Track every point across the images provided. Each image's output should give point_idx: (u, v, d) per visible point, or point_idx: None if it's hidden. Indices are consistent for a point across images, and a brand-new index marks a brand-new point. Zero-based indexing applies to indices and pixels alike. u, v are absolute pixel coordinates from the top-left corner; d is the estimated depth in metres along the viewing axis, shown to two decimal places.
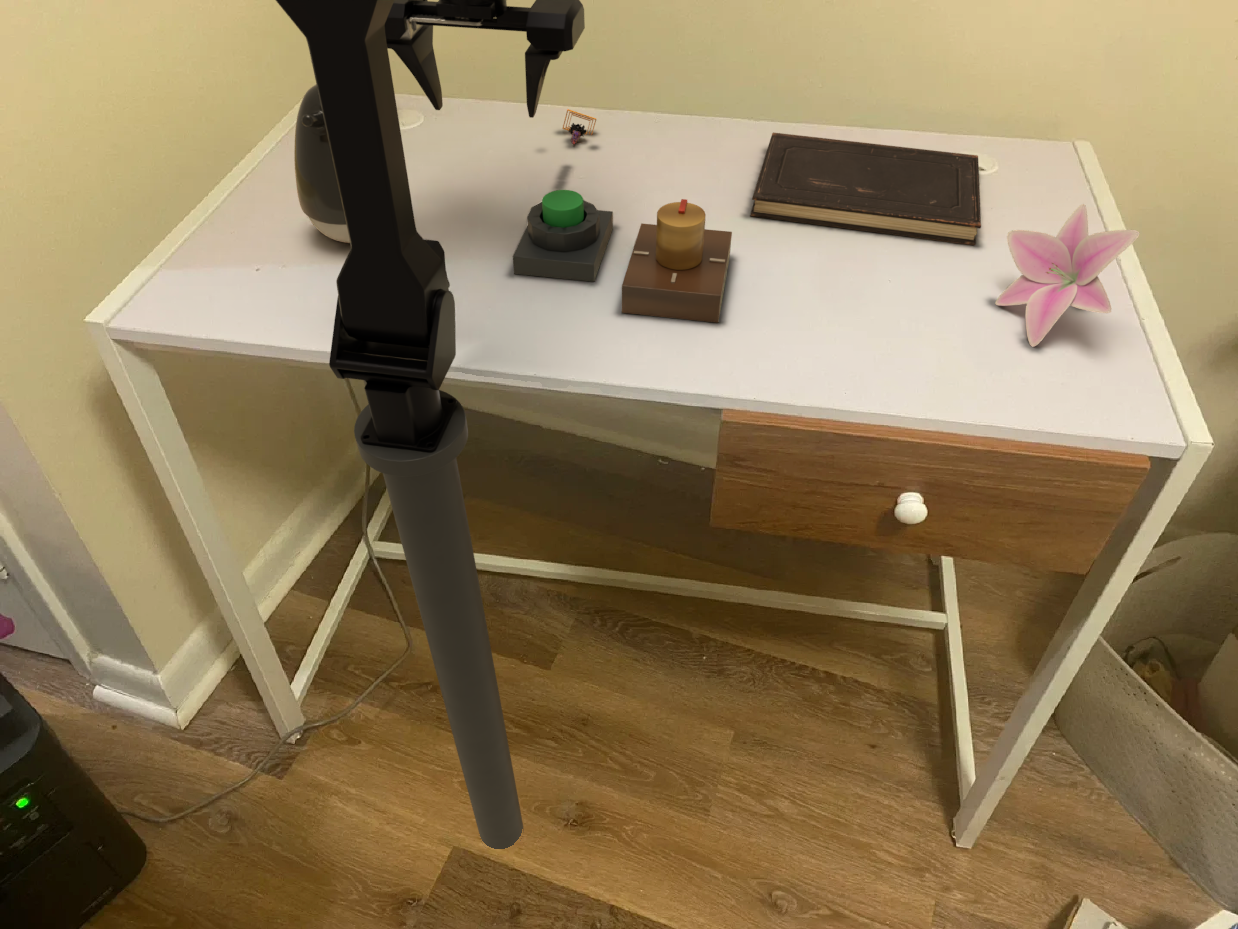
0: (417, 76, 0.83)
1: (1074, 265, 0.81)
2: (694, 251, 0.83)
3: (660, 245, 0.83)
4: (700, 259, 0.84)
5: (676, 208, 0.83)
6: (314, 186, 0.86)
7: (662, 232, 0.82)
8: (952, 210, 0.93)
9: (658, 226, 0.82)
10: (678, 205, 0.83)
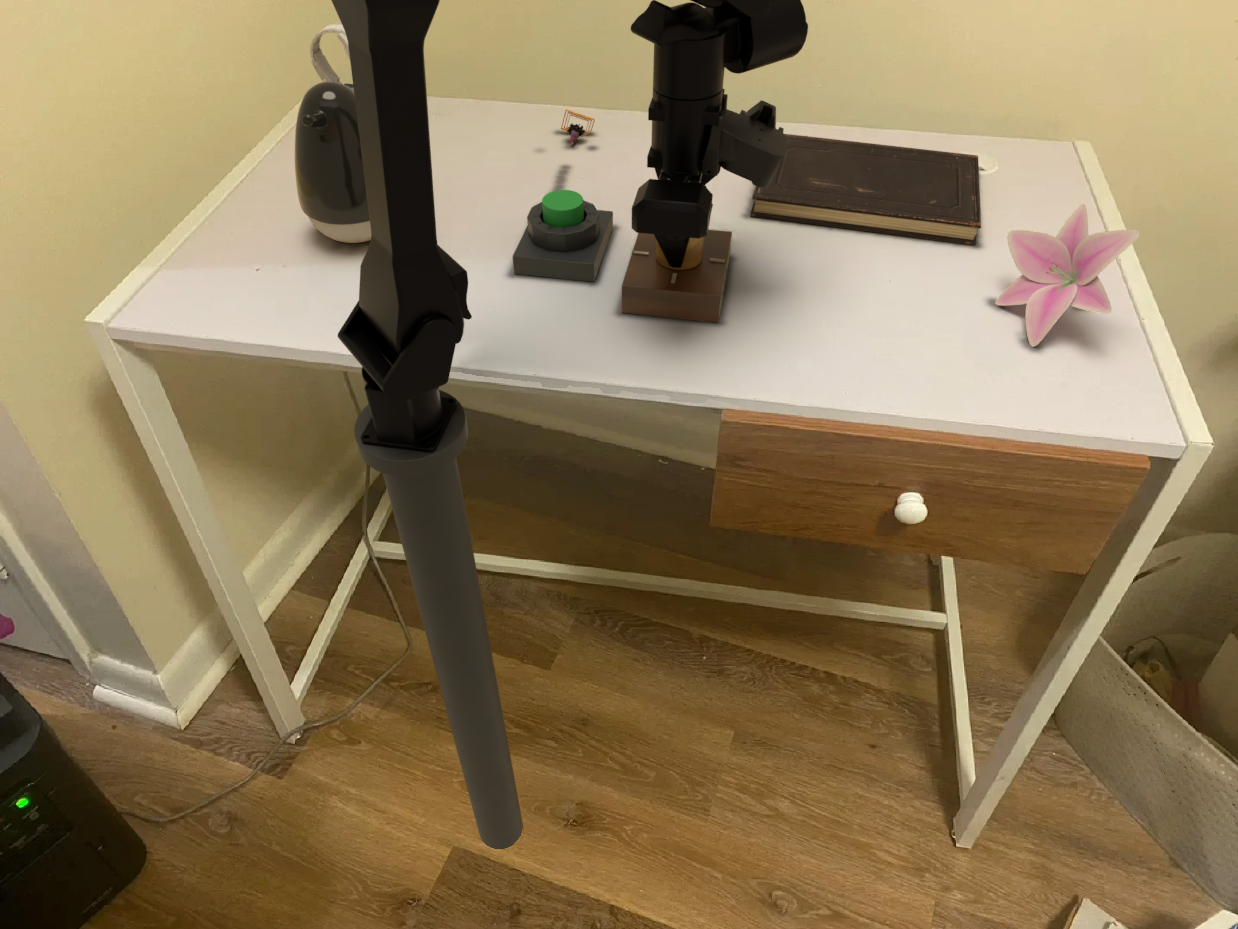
0: None
1: (1074, 265, 0.81)
2: (694, 251, 0.83)
3: None
4: (700, 259, 0.84)
5: None
6: (314, 186, 0.86)
7: None
8: (952, 210, 0.93)
9: None
10: None
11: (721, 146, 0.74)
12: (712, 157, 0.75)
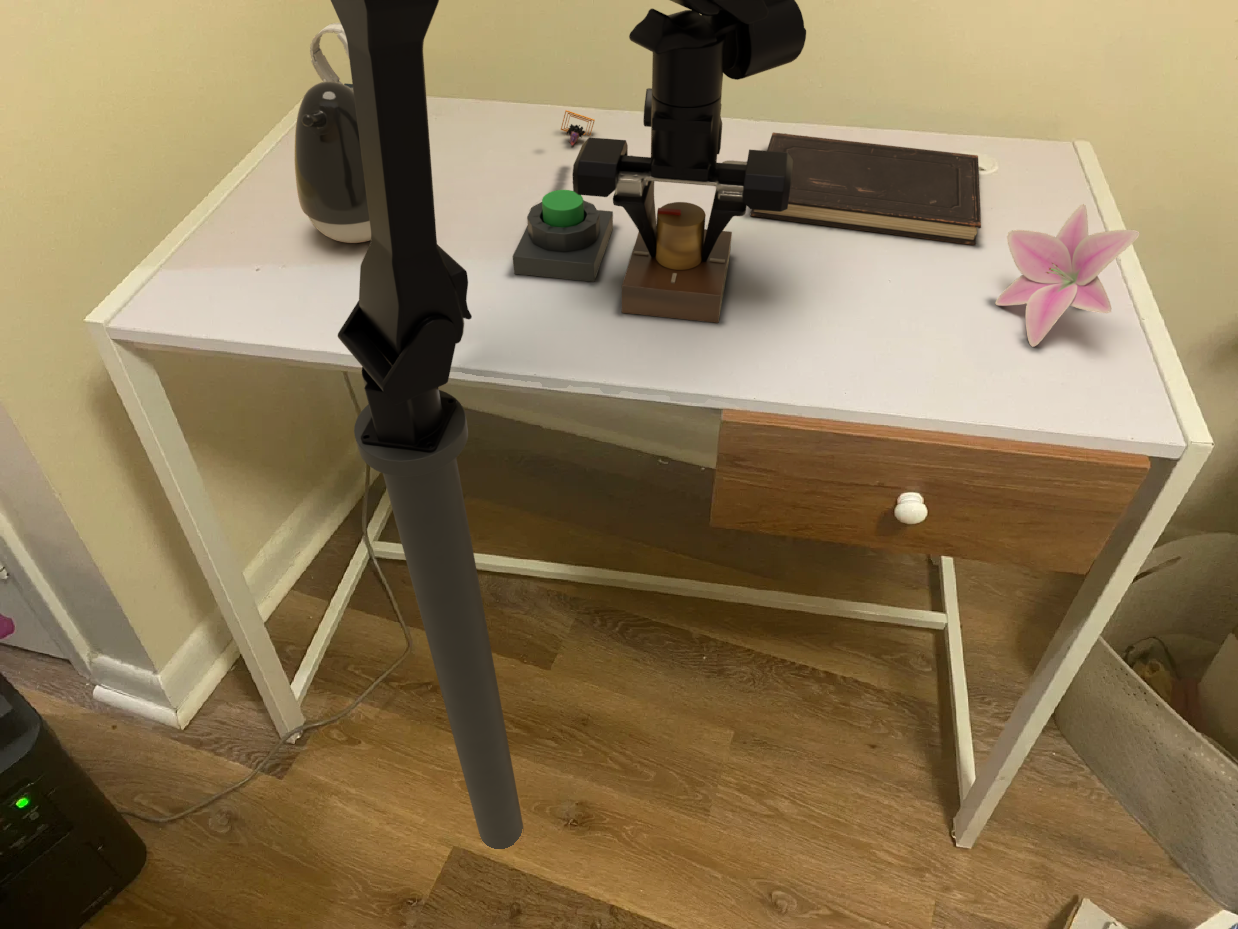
0: (641, 229, 0.82)
1: (1074, 265, 0.81)
2: None
3: (694, 248, 0.83)
4: None
5: (670, 216, 0.82)
6: (314, 186, 0.86)
7: (697, 233, 0.82)
8: (952, 210, 0.93)
9: (690, 234, 0.81)
10: (664, 215, 0.82)
11: None
12: (721, 133, 0.79)
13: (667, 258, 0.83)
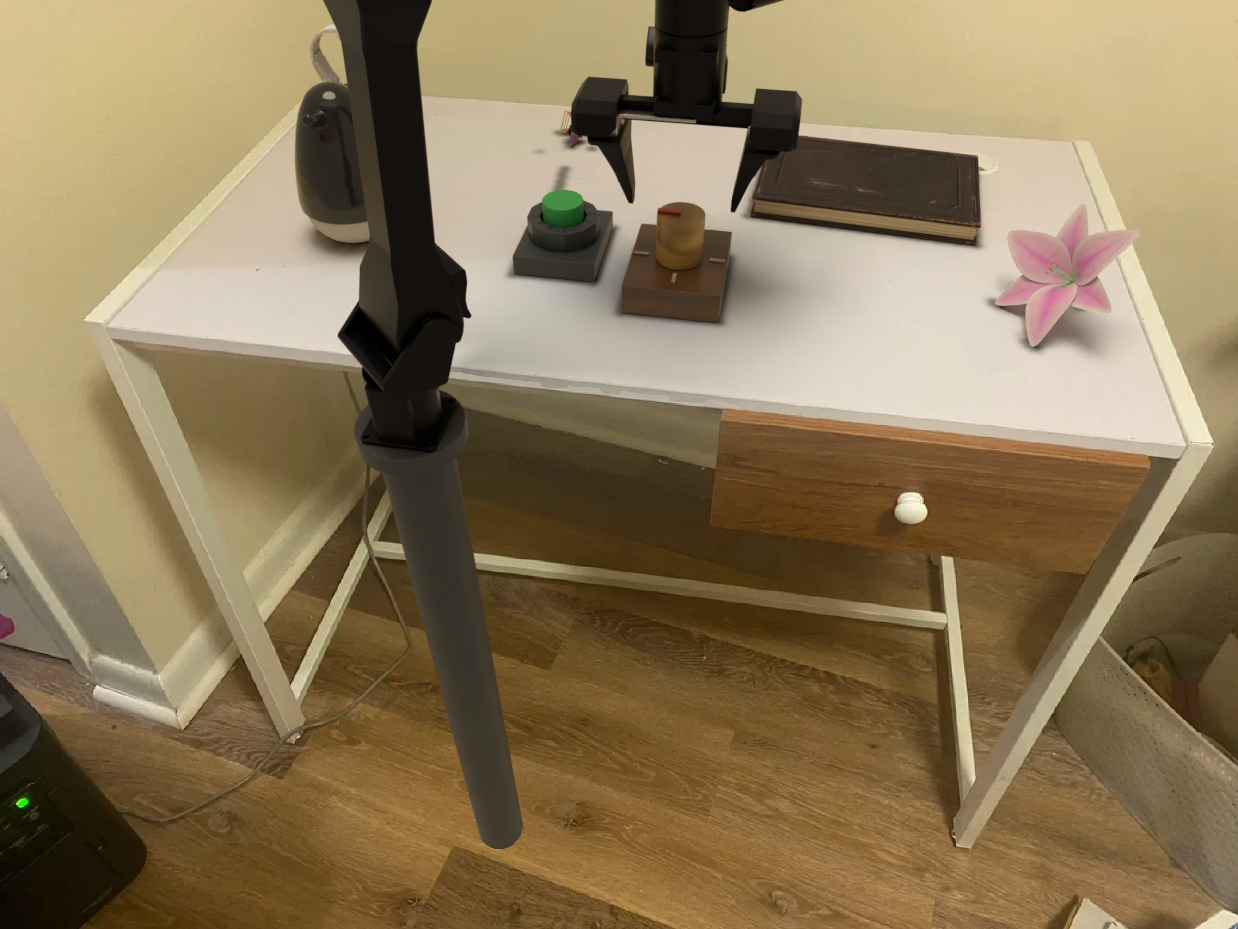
0: (617, 172, 0.78)
1: (1074, 265, 0.81)
2: None
3: (694, 248, 0.83)
4: None
5: (670, 216, 0.82)
6: (314, 186, 0.86)
7: (697, 233, 0.82)
8: (952, 210, 0.93)
9: (690, 234, 0.81)
10: (664, 215, 0.82)
11: None
12: None
13: (667, 258, 0.83)
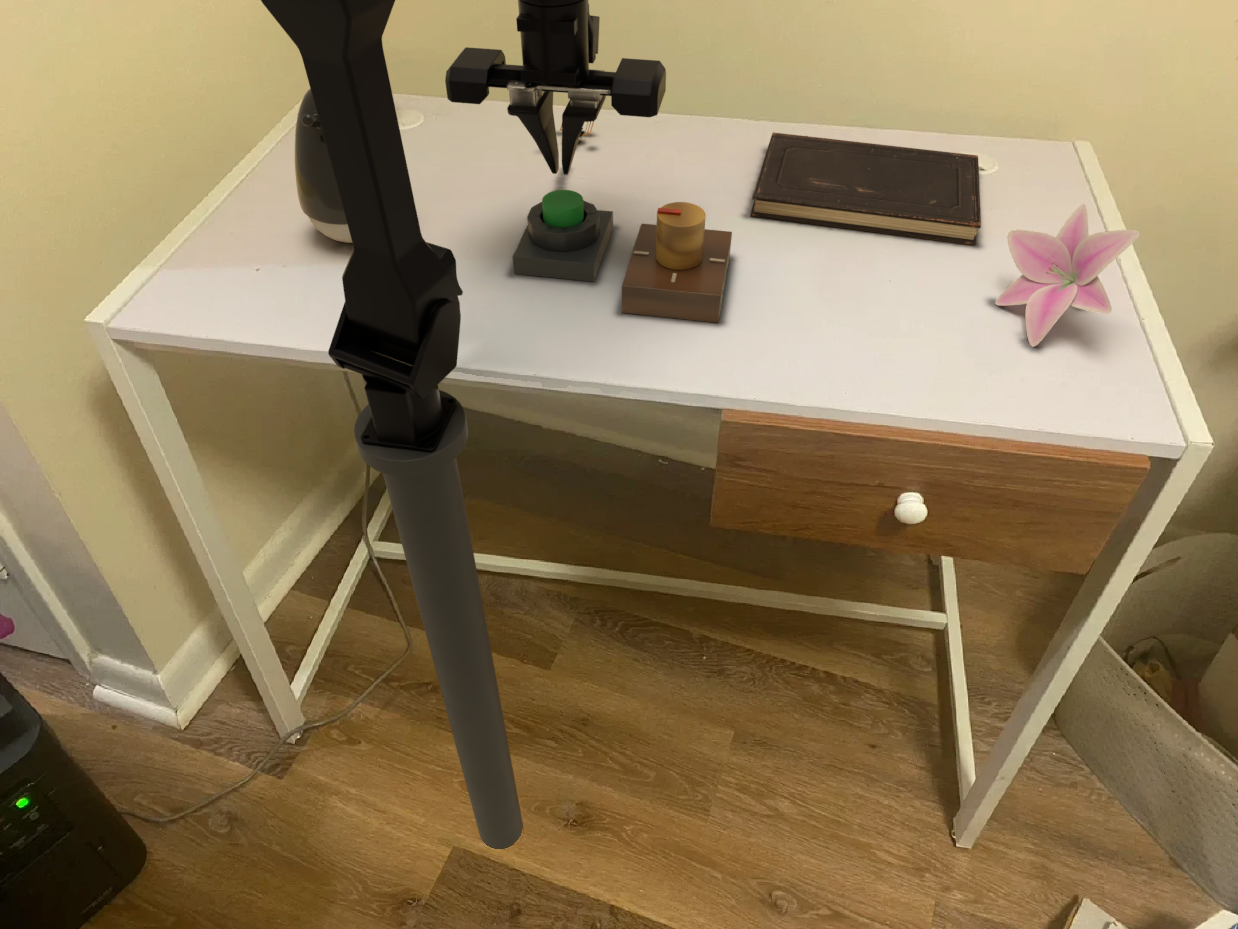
0: (539, 142, 0.82)
1: (1074, 265, 0.81)
2: None
3: (694, 248, 0.83)
4: None
5: (670, 216, 0.82)
6: (314, 186, 0.86)
7: (697, 233, 0.82)
8: (952, 210, 0.93)
9: (690, 234, 0.81)
10: (664, 215, 0.82)
11: None
12: (594, 41, 0.79)
13: (667, 258, 0.83)
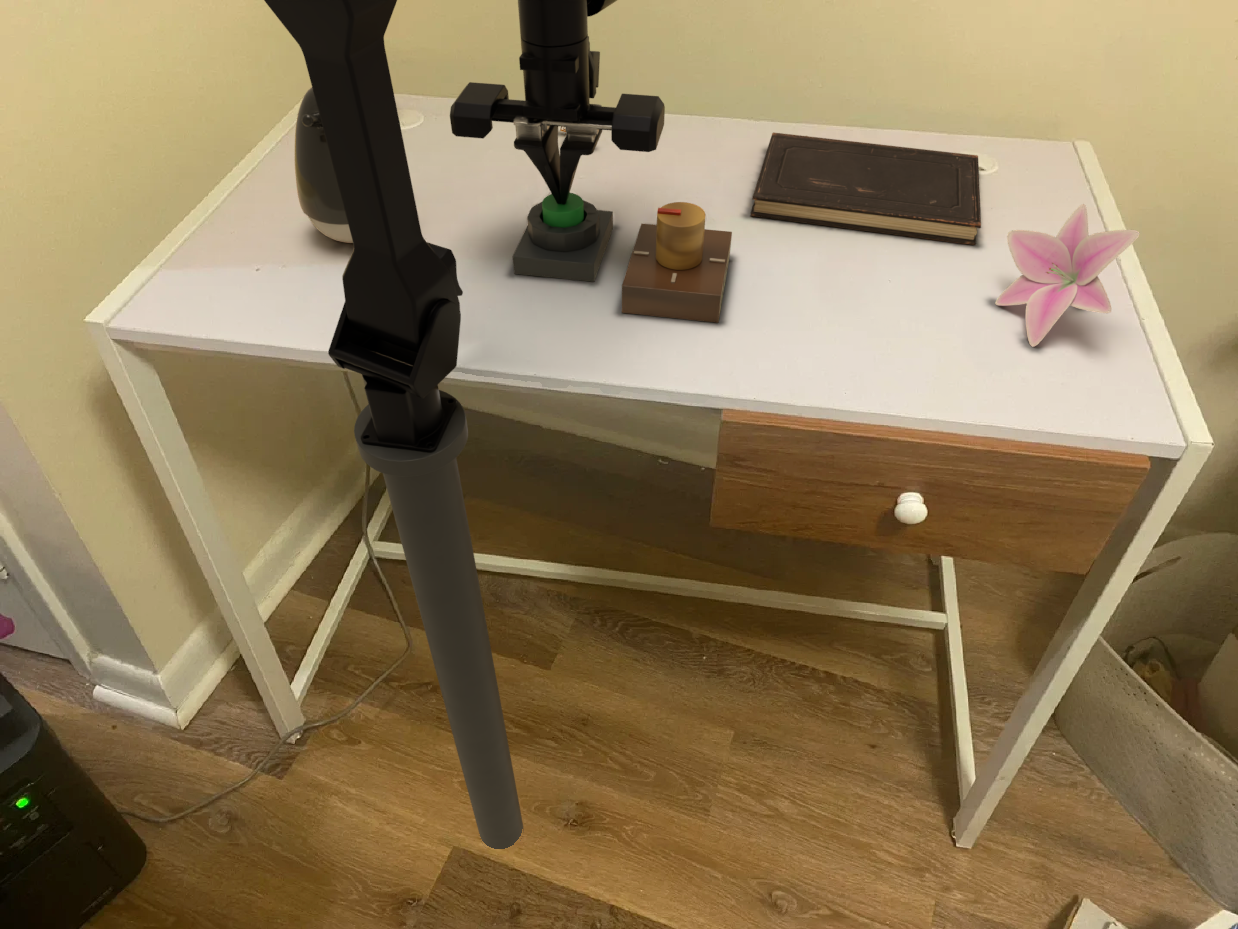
0: (544, 174, 0.84)
1: (1074, 265, 0.81)
2: None
3: (694, 248, 0.83)
4: None
5: (670, 216, 0.82)
6: (314, 186, 0.86)
7: (697, 233, 0.82)
8: (952, 210, 0.93)
9: (690, 234, 0.81)
10: (664, 215, 0.82)
11: None
12: (595, 77, 0.81)
13: (667, 258, 0.83)
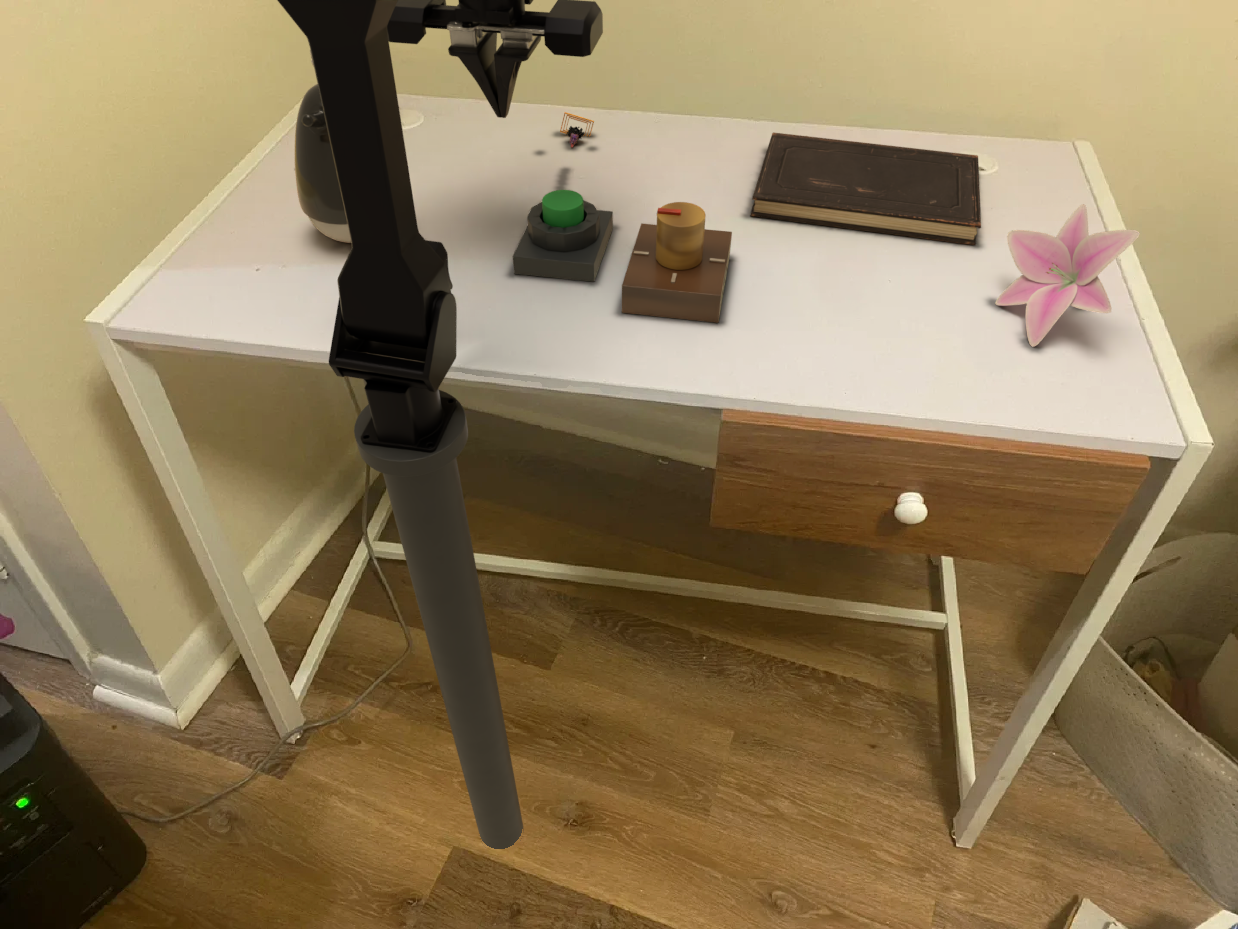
0: (481, 84, 0.83)
1: (1074, 265, 0.81)
2: None
3: (694, 248, 0.83)
4: None
5: (670, 216, 0.82)
6: (314, 186, 0.86)
7: (697, 233, 0.82)
8: (952, 210, 0.93)
9: (690, 234, 0.81)
10: (664, 215, 0.82)
11: None
12: None
13: (667, 258, 0.83)
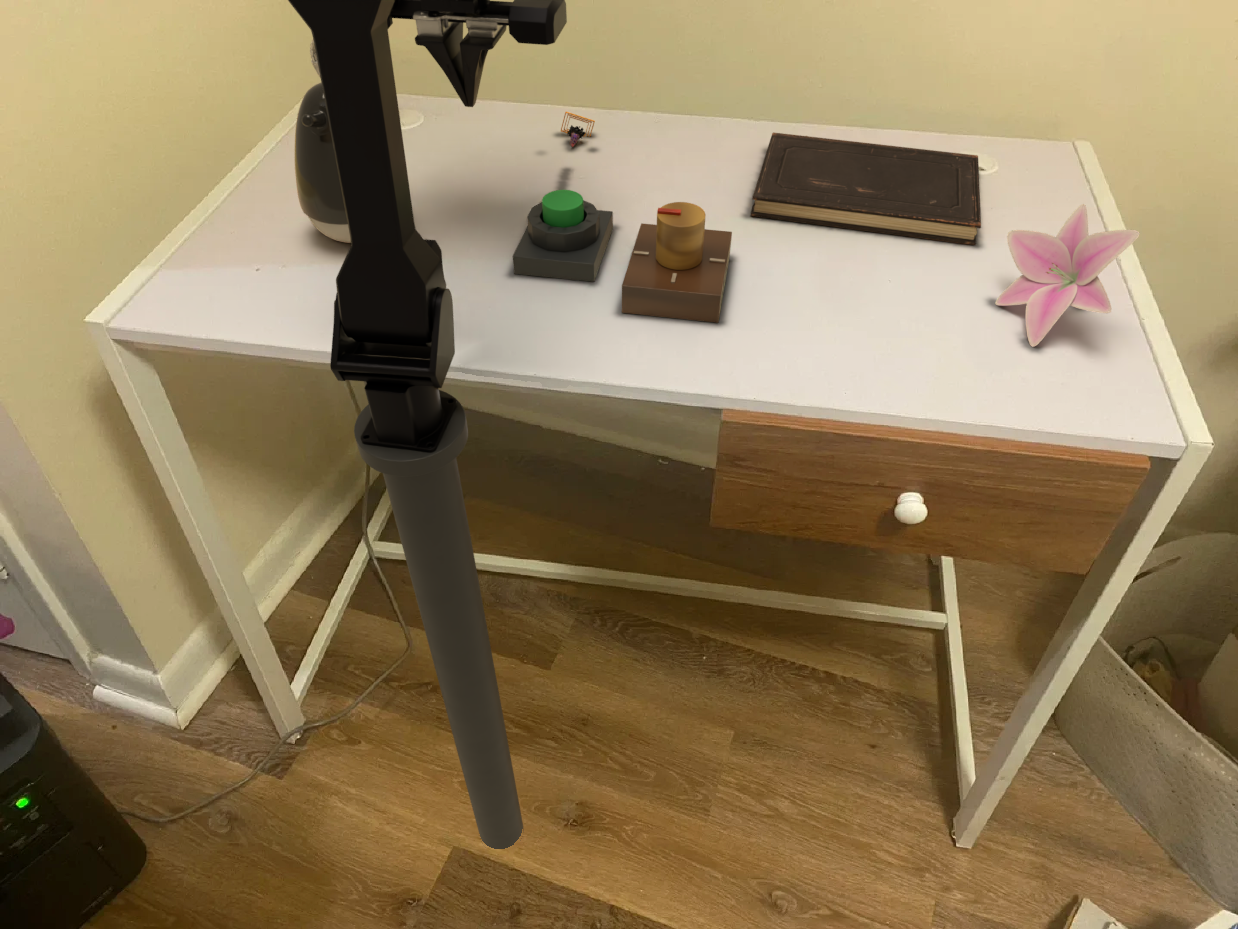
0: (448, 73, 0.84)
1: (1074, 265, 0.81)
2: None
3: (694, 248, 0.83)
4: None
5: (670, 216, 0.82)
6: (314, 186, 0.86)
7: (697, 233, 0.82)
8: (952, 210, 0.93)
9: (690, 234, 0.81)
10: (664, 215, 0.82)
11: None
12: None
13: (667, 258, 0.83)
